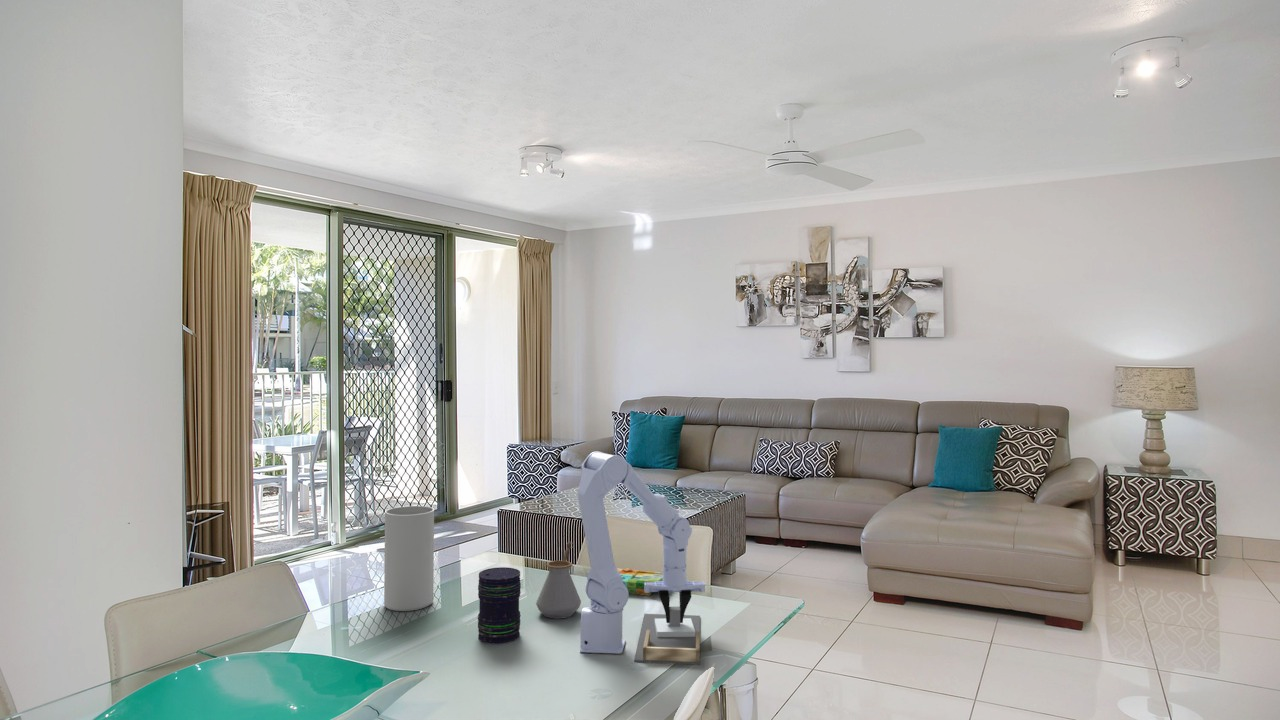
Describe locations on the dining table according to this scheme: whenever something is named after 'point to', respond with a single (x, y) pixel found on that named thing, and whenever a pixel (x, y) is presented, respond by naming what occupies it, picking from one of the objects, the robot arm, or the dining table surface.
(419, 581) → the cylinder vase
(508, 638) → the storage jar
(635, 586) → the puzzle game
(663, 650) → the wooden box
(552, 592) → the grey faceted twig vase
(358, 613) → the dining table surface
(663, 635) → the cover plate
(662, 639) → the rubber mat
